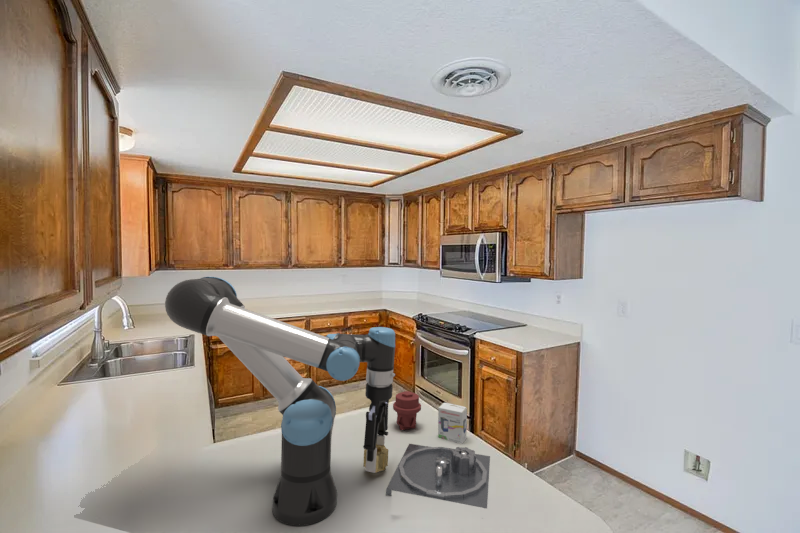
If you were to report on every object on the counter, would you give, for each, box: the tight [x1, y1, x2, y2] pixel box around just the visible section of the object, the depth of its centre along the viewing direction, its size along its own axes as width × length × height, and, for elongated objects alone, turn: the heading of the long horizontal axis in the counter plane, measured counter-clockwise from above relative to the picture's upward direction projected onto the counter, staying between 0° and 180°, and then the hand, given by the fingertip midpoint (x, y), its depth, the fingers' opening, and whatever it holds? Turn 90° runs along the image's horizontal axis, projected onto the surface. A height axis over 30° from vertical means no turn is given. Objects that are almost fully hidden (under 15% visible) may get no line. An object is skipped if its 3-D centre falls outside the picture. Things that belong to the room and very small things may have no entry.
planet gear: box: [363, 444, 389, 473], centre depth 107 cm, size 7×7×4 cm
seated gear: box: [451, 446, 476, 475], centre depth 107 cm, size 7×7×4 cm
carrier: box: [385, 443, 491, 509], centre depth 105 cm, size 25×25×6 cm
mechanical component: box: [392, 390, 422, 431], centre depth 136 cm, size 12×10×10 cm
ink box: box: [437, 402, 468, 445], centre depth 125 cm, size 9×5×12 cm, turn 62°
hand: (374, 464), depth 107 cm, fingers closed on planet gear, 7 cm apart
